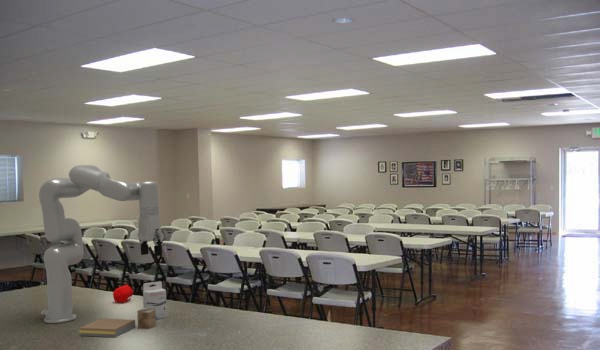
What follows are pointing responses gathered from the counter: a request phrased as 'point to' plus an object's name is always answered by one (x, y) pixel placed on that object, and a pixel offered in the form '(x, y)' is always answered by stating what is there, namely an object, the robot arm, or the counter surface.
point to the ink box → (155, 298)
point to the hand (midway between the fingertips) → (151, 255)
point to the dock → (107, 327)
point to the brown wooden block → (146, 318)
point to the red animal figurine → (122, 294)
